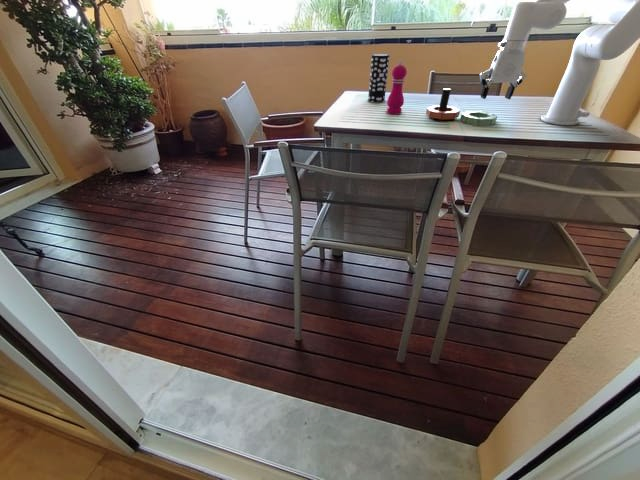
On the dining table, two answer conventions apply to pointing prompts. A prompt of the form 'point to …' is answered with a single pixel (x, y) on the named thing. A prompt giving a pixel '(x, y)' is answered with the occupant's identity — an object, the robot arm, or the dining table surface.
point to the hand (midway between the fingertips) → (495, 98)
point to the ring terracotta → (448, 114)
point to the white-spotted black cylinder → (378, 77)
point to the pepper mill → (396, 89)
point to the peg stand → (444, 102)
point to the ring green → (478, 118)
